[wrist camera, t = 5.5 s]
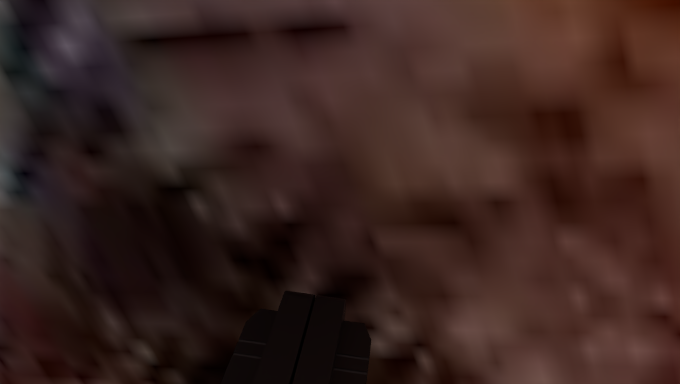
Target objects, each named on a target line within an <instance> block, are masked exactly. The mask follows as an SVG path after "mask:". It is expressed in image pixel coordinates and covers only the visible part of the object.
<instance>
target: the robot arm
mask: <svg viewBox="0 0 680 384" xmlns="http://www.w3.org/2000/svg"><path fill="white" fill-rule="evenodd" d="M345 308H346V299H342V298H335V297H328V296H321V295H317V296H316V299H315V295H313V294H305V293H298V292H291V291H285V292H284V295H283V297H282V300H281V303H280V306H279V309H278V311H273V310H266V309H260V310H259V311H258V312H257V313H255V314H254V315H253V316H252V317H251V318H250V319H249V320H248V321H247V322H246V324H245V326H244V329H243V331H242V333H241V336H240V338H239V342H238V343H237V345H236V348H235V350H234V354H233V355H232V357H231V360H230V362H229V364H228V367H227V369H226V372H225V374H224V376H223V379H222V381H221V384H366V381H367V372H368V364H369V355H370V347H371V338H370V336H369V333H368V331H367V329H366V326H365V324H364V323H357V322H350V321H344V319H345Z"/></svg>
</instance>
